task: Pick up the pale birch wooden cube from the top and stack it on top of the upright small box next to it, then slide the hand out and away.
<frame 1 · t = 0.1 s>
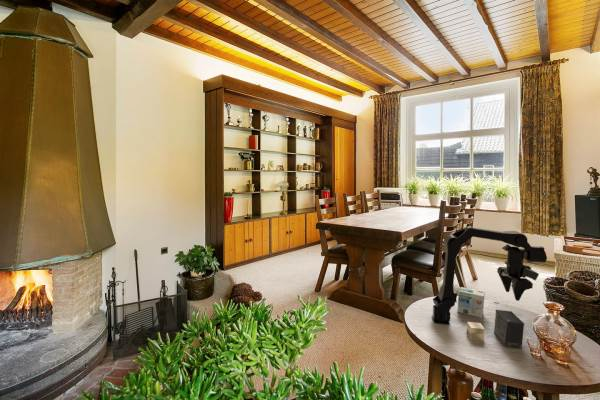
hand: (512, 296, 130), 15 cm above the table, tool pointing down, fingers open, 9 cm apart
birch cube: (475, 336, 125), on the table
light bulb box: (470, 312, 146), on the table
small box: (507, 340, 122), on the table
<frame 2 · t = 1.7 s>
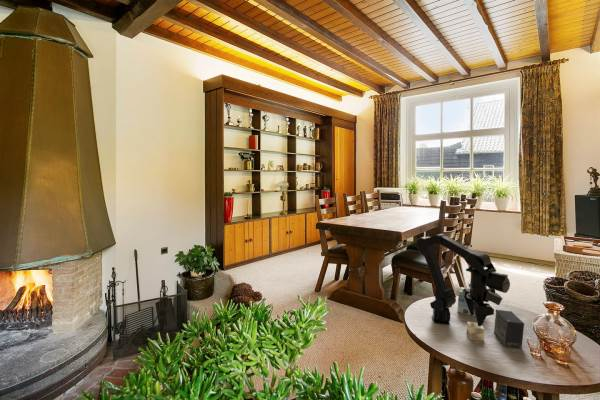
hand: (475, 320, 124), 7 cm above the table, tool pointing down, fingers open, 9 cm apart
nothing on the table moved.
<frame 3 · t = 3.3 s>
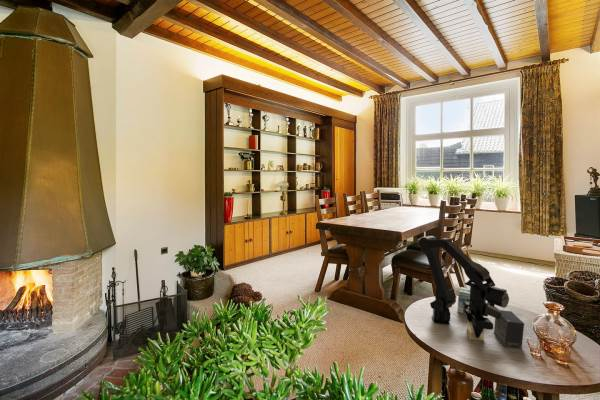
hand: (475, 334, 125), 1 cm above the table, tool pointing down, fingers closed on birch cube, 5 cm apart
birch cube: (475, 336, 125), on the table, touching gripper
everything else where it was.
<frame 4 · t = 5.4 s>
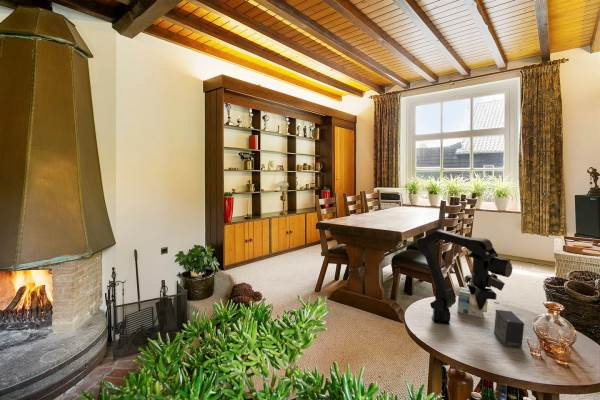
hand: (478, 306, 123), 13 cm above the table, tool pointing down, fingers closed on birch cube, 5 cm apart
birch cube: (477, 309, 123), point 12 cm above the table, touching gripper
everything else where it was.
when the fingers open (12 cm above the table, at t = 7.4 s): birch cube stays where it is, resting on small box.
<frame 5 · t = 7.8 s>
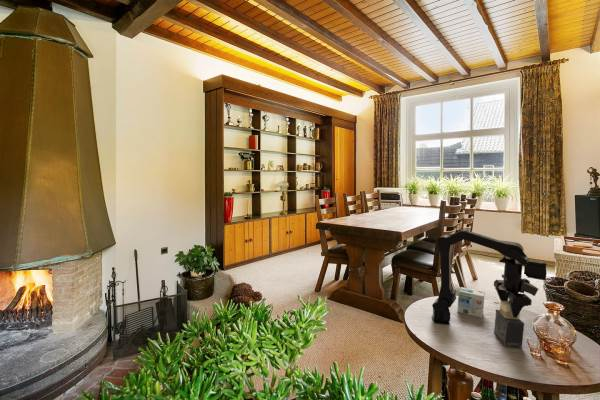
hand: (509, 312, 121), 12 cm above the table, tool pointing down, fingers open, 9 cm apart
birch cube: (509, 315, 121), point 10 cm above the table, touching small box
small box: (507, 340, 122), on the table, touching birch cube
everything else where it was.
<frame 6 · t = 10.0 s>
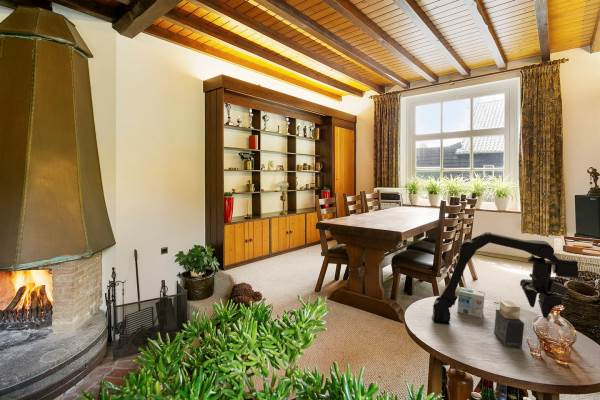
hand: (538, 312, 118), 13 cm above the table, tool pointing down, fingers open, 9 cm apart
nothing on the table moved.
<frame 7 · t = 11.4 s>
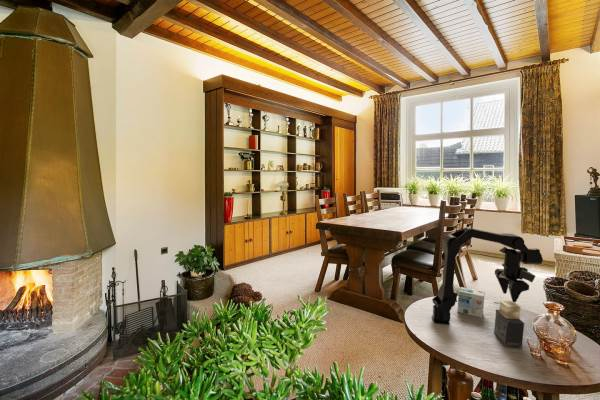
hand: (509, 297, 132), 13 cm above the table, tool pointing down, fingers open, 9 cm apart
nothing on the table moved.
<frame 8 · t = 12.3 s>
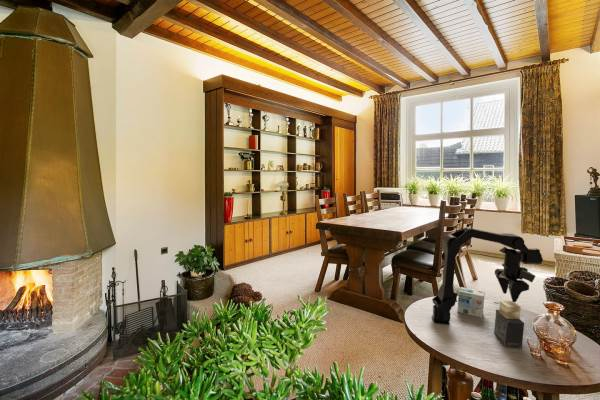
hand: (509, 297, 132), 13 cm above the table, tool pointing down, fingers open, 9 cm apart
nothing on the table moved.
at the end: birch cube 0.1 cm off-centre on the small box, point 10.7 cm above the small box's base; birch cube tilted 0°; the gripper is holding nothing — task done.
